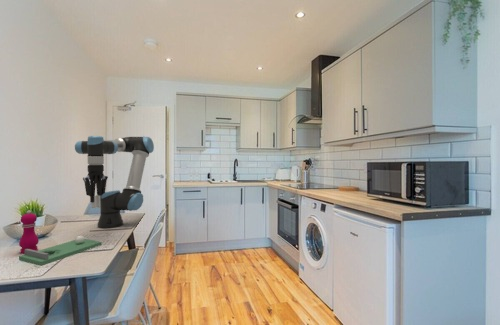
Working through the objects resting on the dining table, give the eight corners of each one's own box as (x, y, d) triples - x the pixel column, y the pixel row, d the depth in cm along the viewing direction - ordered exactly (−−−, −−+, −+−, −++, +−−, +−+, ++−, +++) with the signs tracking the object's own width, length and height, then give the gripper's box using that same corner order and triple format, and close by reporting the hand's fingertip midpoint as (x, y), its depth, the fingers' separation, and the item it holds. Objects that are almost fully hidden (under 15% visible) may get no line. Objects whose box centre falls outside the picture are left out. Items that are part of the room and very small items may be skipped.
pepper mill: (16, 252, 124) (15, 210, 123) (34, 247, 130) (34, 208, 130) (23, 255, 120) (22, 212, 120) (41, 250, 127) (41, 209, 126)
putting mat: (80, 241, 141) (80, 233, 140) (101, 244, 135) (101, 237, 134) (18, 259, 115) (18, 250, 115) (41, 265, 109) (41, 256, 109)
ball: (81, 241, 135) (81, 234, 135) (86, 242, 133) (86, 235, 133) (73, 244, 131) (73, 236, 131) (78, 245, 129) (78, 237, 129)
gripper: (103, 164, 148) (103, 205, 148) (77, 164, 134) (77, 209, 135) (112, 164, 145) (112, 205, 146) (87, 164, 131) (87, 210, 132)
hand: (95, 207), depth 140 cm, fingers open, 2 cm apart
